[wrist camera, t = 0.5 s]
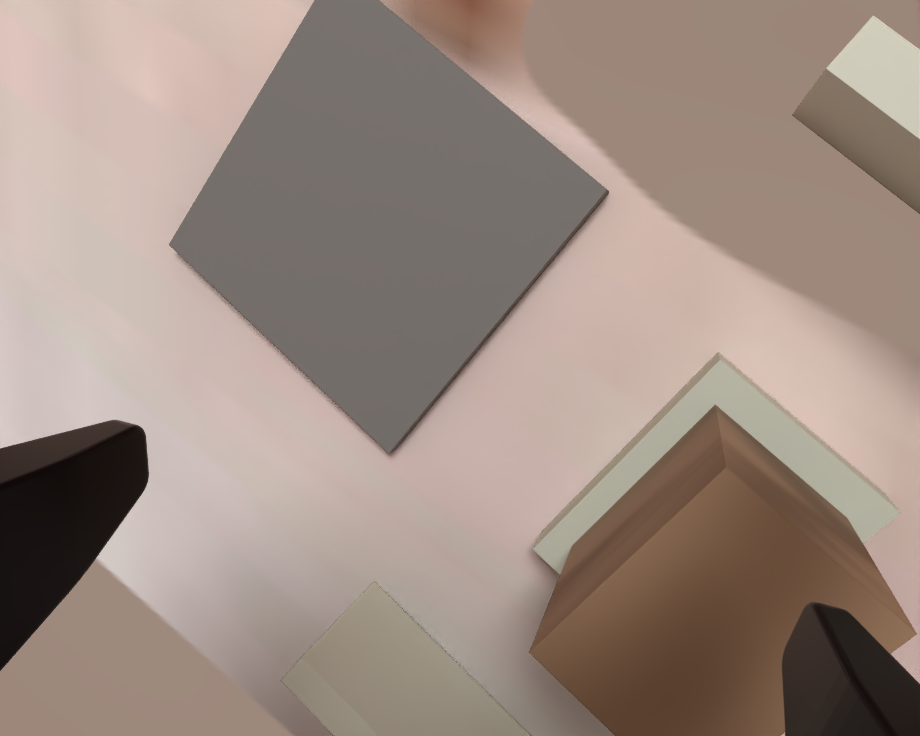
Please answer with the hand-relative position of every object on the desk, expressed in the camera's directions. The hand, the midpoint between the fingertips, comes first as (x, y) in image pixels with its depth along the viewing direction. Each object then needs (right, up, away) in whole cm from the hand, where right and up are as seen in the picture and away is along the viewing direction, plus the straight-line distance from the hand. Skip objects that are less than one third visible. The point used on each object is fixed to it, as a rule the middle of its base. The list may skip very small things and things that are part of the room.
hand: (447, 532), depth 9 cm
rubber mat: (-3, +7, +14) cm, 16 cm away
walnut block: (+7, -3, +11) cm, 13 cm away
